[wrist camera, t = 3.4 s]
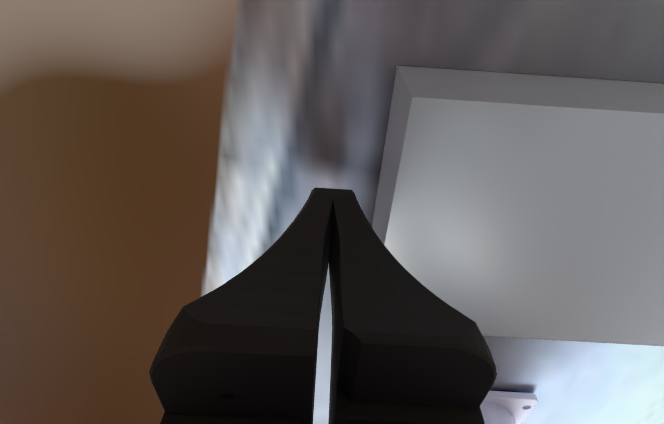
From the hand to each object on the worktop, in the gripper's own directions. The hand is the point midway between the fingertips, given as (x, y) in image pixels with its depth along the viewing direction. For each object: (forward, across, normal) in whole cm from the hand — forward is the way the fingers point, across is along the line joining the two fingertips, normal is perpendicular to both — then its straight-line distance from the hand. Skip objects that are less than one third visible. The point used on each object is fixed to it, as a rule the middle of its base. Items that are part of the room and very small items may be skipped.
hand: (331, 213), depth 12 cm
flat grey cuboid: (+2, -9, 0) cm, 9 cm away
